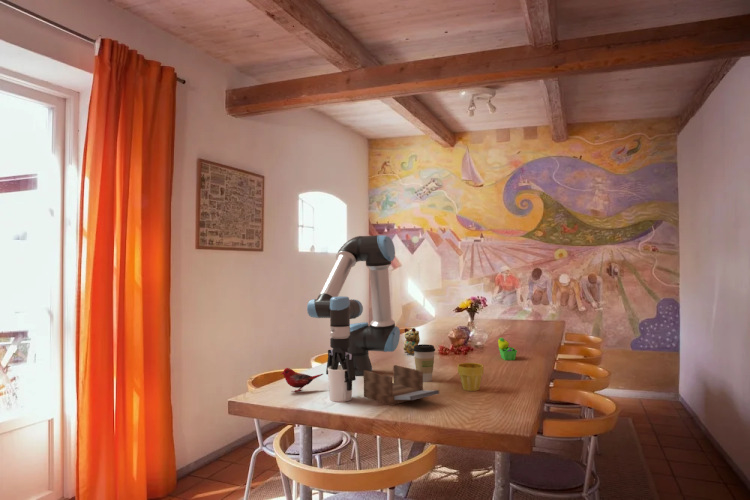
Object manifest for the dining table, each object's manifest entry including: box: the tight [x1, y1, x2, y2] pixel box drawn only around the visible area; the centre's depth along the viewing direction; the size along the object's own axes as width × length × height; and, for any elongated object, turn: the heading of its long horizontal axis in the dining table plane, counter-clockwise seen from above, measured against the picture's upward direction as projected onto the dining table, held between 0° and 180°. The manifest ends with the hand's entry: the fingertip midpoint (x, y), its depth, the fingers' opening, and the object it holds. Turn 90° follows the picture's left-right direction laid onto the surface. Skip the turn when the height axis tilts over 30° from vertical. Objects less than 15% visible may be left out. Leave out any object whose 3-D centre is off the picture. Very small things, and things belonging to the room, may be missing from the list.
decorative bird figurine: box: [280, 367, 324, 393], centre depth 209 cm, size 3×18×10 cm, turn 113°
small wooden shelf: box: [363, 364, 424, 406], centre depth 198 cm, size 16×16×10 cm
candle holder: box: [326, 364, 353, 403], centre depth 197 cm, size 10×10×12 cm
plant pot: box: [457, 362, 485, 392], centre depth 210 cm, size 10×10×10 cm
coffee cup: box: [413, 343, 436, 383], centre depth 227 cm, size 10×10×15 cm
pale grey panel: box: [394, 389, 440, 401], centre depth 188 cm, size 1×13×10 cm
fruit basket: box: [497, 337, 518, 361], centre depth 275 cm, size 11×9×11 cm
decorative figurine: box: [402, 327, 421, 356], centre depth 291 cm, size 10×8×15 cm
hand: (340, 396), depth 196 cm, fingers closed on candle holder, 9 cm apart
